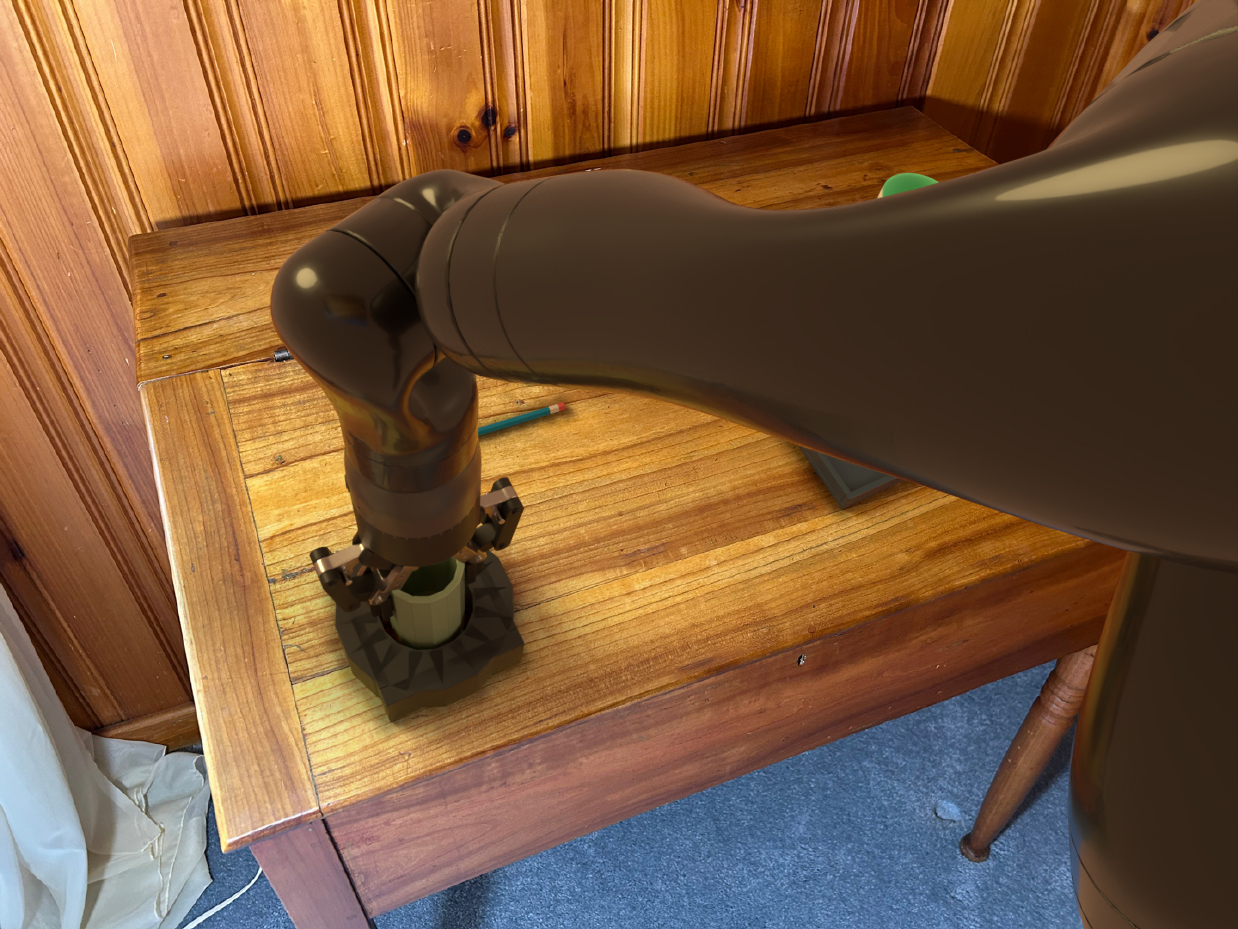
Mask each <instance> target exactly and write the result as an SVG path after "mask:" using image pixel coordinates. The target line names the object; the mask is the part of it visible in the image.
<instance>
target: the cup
mask: <svg viewBox="0 0 1238 929" xmlns="http://www.w3.org/2000/svg"><path fill="white" fill-rule="evenodd" d="M389 597H390V599H391V605H392V611H393V616H392V617H390V618H389V620H390V625H391V630H392V634H393V635H394V637H395V639H396V642H397V643H398V644H401V645H404V646H407V647H410V648H412V649H415V650H427V649H437V648H439V647H441V646H443V645H446V644H448V643H450V642H452V641H454V640H455V639H456V638H457V637H458V636H459V635H460V634H461V633H462V632H463V629H464V625H465V618H466V602H465V564H464V563H462V562H460V561H458V560H456V559H454V558H452V557H451V558H449V559H447V560H445V561H442V562H440V563H437V564H433V565H429V566H422V567H419V568H418V569H417V570H416V571H412V573H411V574H410V576H409V577H408V579H407V580H406V582H405V583H404V585H403V586H402V588H401V589H398V590H394V591H392V592H391V594H390V595H389Z"/></svg>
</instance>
